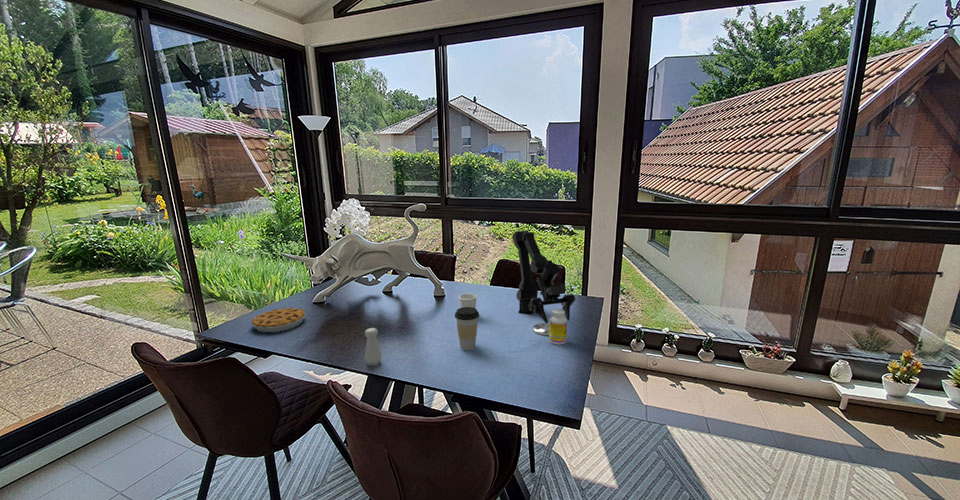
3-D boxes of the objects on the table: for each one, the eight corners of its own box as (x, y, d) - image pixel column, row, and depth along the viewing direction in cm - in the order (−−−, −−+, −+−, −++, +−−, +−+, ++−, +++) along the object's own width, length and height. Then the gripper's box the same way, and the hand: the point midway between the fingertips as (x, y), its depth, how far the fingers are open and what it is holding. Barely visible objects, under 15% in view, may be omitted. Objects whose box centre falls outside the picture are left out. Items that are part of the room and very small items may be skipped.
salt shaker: (367, 359, 142) (364, 326, 139) (383, 358, 142) (380, 325, 139) (363, 367, 136) (360, 333, 133) (380, 366, 136) (377, 332, 134)
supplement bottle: (566, 346, 150) (567, 314, 147) (549, 344, 151) (549, 313, 148) (566, 338, 156) (567, 308, 153) (549, 337, 157) (550, 307, 155)
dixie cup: (467, 321, 175) (466, 300, 173) (455, 316, 181) (455, 296, 179) (481, 316, 181) (480, 296, 178) (469, 311, 187) (469, 292, 185)
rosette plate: (529, 326, 168) (529, 324, 168) (552, 323, 171) (552, 321, 171) (539, 337, 158) (539, 334, 157) (563, 333, 160) (563, 331, 160)
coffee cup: (461, 354, 144) (460, 316, 141) (451, 344, 152) (450, 308, 149) (484, 349, 148) (483, 312, 145) (473, 339, 156) (472, 304, 153)
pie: (276, 314, 189) (275, 304, 188) (316, 316, 184) (315, 307, 183) (240, 332, 168) (239, 322, 167) (284, 336, 163) (283, 325, 162)
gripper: (531, 279, 151) (542, 315, 143) (574, 275, 156) (587, 310, 148) (523, 292, 160) (533, 327, 152) (564, 288, 165) (576, 322, 157)
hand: (558, 321), depth 152 cm, fingers open, 9 cm apart
